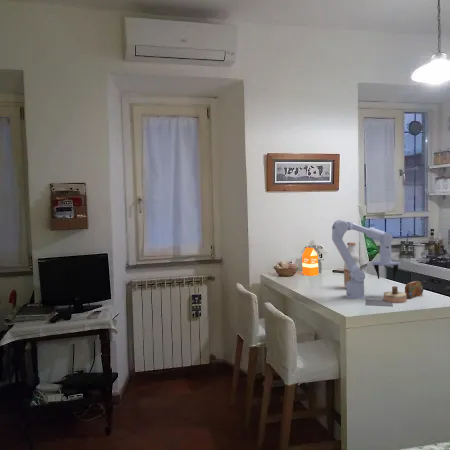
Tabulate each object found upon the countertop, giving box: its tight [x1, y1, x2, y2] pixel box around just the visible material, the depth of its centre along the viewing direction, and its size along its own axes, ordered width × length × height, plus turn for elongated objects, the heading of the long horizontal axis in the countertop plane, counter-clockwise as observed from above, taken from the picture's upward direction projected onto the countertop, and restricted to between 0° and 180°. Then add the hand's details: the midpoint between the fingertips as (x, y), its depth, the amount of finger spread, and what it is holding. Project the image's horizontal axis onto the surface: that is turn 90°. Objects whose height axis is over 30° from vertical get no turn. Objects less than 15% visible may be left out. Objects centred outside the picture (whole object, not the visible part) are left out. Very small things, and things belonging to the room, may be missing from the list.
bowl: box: [383, 295, 408, 304], centre depth 213 cm, size 11×11×3 cm
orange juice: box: [301, 247, 319, 277], centre depth 299 cm, size 8×9×20 cm
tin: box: [404, 280, 424, 299], centre depth 219 cm, size 15×3×8 cm, turn 126°
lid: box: [383, 286, 406, 298], centre depth 212 cm, size 11×11×4 cm
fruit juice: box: [343, 242, 361, 290], centre depth 246 cm, size 9×9×28 cm
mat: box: [365, 298, 394, 308], centre depth 208 cm, size 13×13×1 cm
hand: (386, 278), depth 222 cm, fingers open, 7 cm apart
